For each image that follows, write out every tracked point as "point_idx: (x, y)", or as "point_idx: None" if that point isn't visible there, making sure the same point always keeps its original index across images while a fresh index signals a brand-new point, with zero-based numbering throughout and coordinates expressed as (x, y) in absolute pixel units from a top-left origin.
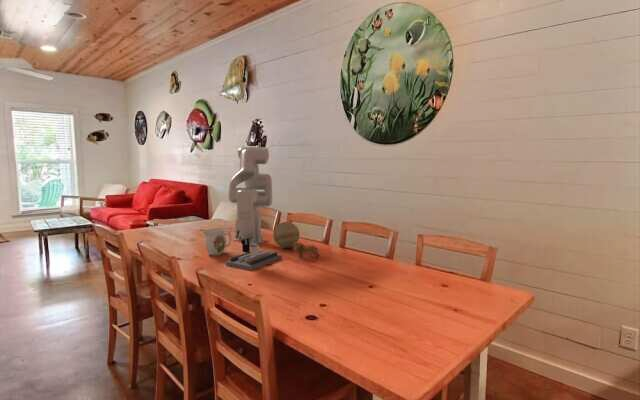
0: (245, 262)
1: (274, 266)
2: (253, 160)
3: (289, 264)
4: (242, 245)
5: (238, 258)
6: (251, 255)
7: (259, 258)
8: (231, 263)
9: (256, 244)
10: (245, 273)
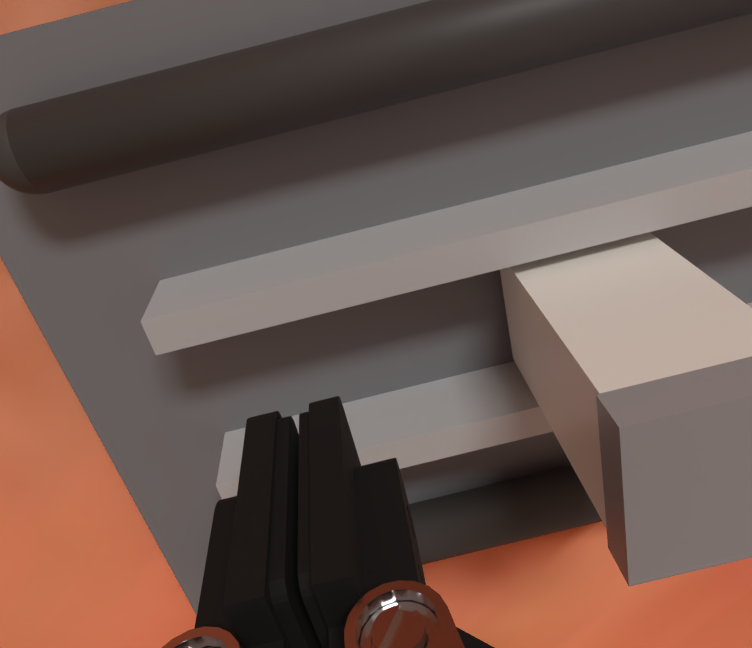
0: (225, 442)
1: (545, 593)
2: None
3: (716, 628)
4: (229, 560)
5: (147, 315)
6: (517, 302)
7: (468, 550)
8: (1, 234)
9: (740, 546)
10: (80, 605)
